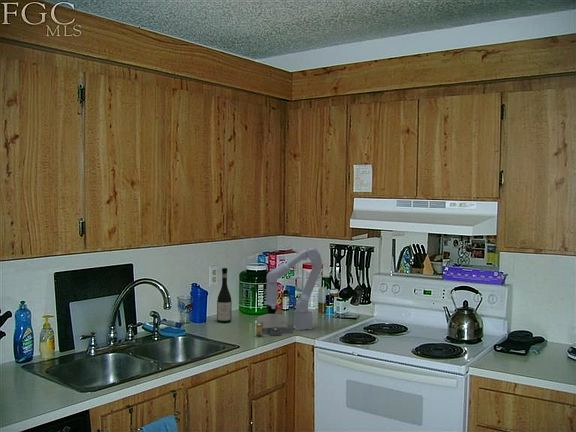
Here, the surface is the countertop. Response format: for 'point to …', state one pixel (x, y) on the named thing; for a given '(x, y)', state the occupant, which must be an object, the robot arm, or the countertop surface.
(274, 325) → the hinge
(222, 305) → the wine bottle
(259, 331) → the pin
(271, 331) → the lip
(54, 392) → the countertop surface
